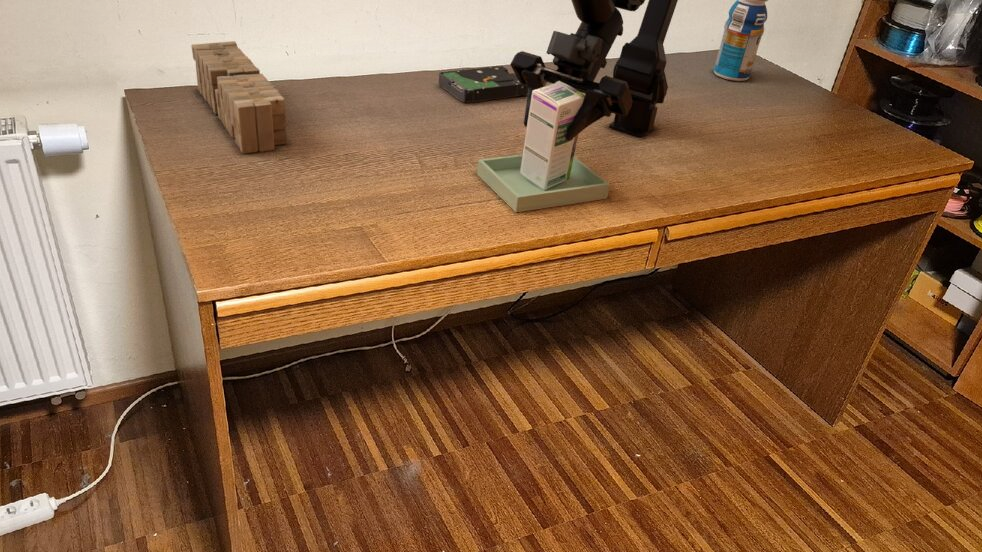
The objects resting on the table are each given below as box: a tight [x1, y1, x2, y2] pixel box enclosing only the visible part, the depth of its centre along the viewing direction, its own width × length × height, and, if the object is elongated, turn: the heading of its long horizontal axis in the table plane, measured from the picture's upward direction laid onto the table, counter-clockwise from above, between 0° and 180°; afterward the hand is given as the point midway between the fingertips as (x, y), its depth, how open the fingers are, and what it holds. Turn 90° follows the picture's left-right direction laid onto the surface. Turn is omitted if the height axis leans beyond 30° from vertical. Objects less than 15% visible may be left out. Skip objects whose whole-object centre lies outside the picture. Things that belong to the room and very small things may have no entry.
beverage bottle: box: [713, 0, 769, 82], centre depth 174 cm, size 8×8×20 cm
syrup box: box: [520, 81, 585, 190], centre depth 120 cm, size 6×6×14 cm
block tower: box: [190, 40, 288, 154], centre depth 133 cm, size 8×8×29 cm
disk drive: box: [438, 65, 528, 103], centre depth 156 cm, size 10×3×15 cm
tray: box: [476, 153, 611, 213], centre depth 124 cm, size 16×13×2 cm
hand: (545, 132), depth 119 cm, fingers closed on syrup box, 7 cm apart
